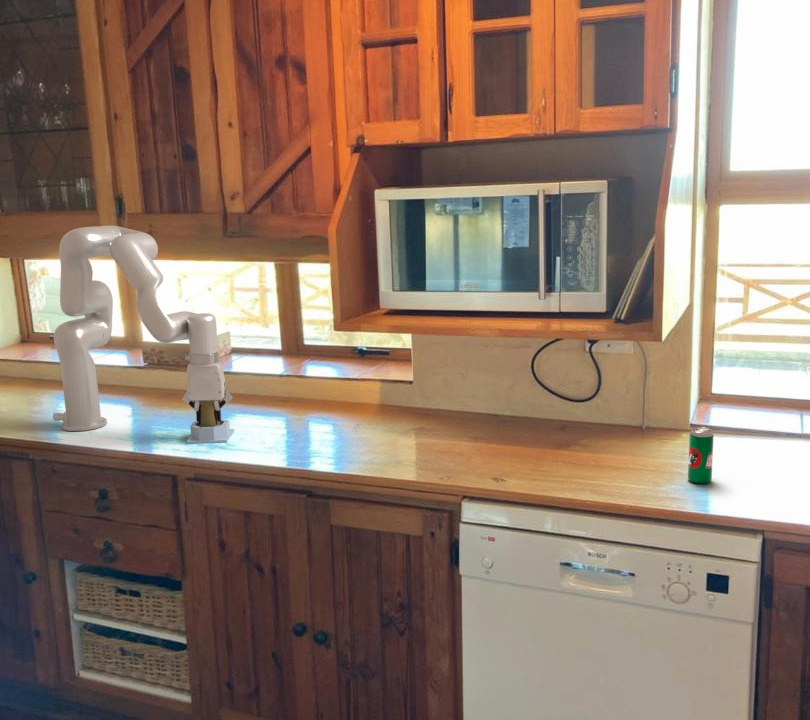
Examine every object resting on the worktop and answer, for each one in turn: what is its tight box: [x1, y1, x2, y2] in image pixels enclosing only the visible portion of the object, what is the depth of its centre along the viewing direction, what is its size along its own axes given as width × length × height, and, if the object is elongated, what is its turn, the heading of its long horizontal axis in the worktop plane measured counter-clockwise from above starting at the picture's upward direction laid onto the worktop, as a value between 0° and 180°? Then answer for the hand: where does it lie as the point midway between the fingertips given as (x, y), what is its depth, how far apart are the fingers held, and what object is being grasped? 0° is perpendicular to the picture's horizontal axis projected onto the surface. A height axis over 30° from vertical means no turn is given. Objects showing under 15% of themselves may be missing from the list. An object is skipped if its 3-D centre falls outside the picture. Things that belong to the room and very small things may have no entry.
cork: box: [199, 401, 220, 427], centre depth 237 cm, size 6×6×11 cm
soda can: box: [687, 426, 714, 485], centre depth 191 cm, size 5×5×12 cm
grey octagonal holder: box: [185, 418, 235, 445], centre depth 238 cm, size 11×11×4 cm
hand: (209, 423), depth 238 cm, fingers closed on cork, 3 cm apart
